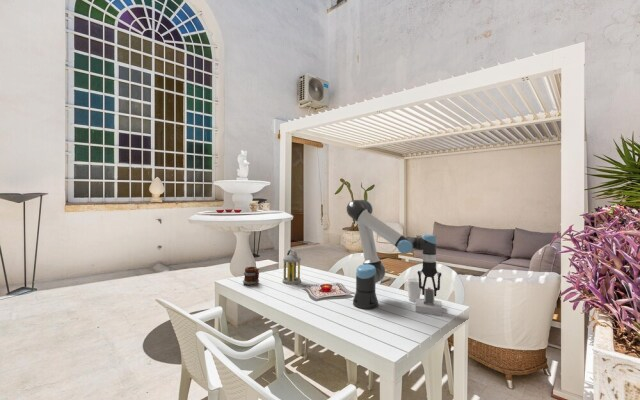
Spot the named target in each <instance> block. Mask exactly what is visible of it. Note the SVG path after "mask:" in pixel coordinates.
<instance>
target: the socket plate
mask: <svg viewBox="0 0 640 400" xmlns="http://www.w3.org/2000/svg"><path fill="white" fill-rule="evenodd" d="M414 307H415V313H423V314H428V315H436V316H442V312H443V305H442V300H435V299H434V302H433V303H426V301H424V298H421V297H420V298H417V300H416V302H415V306H414Z"/></svg>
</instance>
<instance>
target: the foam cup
mask: <svg viewBox="0 0 640 400" xmlns="http://www.w3.org/2000/svg"><path fill="white" fill-rule="evenodd" d="M421 286H423V280H422V279H421ZM406 287H407V288H406V289H407V296H408V301H410V302H412V303H416V300H417V298H420V299H421V292H422V289H421V288H419V278H415V277H413V278H412V277H408V278H406Z"/></svg>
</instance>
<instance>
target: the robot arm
mask: <svg viewBox="0 0 640 400" xmlns="http://www.w3.org/2000/svg"><path fill="white" fill-rule="evenodd" d="M346 213H347V215H348V216H349V217H350V218H351V219H353V220H354V223H355V224H357V228H358V229H357V230H358V233H359V234H358V235H359V238H360V242H361V243H360V244H361V249H362V252H363V254H362V255H363V258H364V260H363V262H362V264H360V265H358V266H356V271H355V280H356V281H355V283H356V284H355V293H354V297H353V299H352V305H353V306H354V308H355V307H356V308H358V309H362V310H363V309H364V310H372V309H377V308H378V307H379V300H378V296H377V294H376V293H377V292H376V284H377V283H378V282H380V281H382V280H383V279H384V277H385V275H386V268H385V265H383V264H382V261H381V258H379V257H378V252H377V247H376V243H375V239H374V233H376V234H377V235H378V236H380V237H382V238H383V239H384V240H386V241H387V242H388V243H390V244H391V245H392V246H394V247H395V248H397V250H398V252H399V253H401V254H403V255H406V254H409V253H411V252H413V251H421V252H422V268H421V270H417V275H418V279H419V288H421V292H422V296H423V299H424V301H426V289H427V288H425V287H426V284H427V278H431V281H432V285H433V287H432V288H433V302H434V300H435V297H437V291H440V290H441V277H442V272H440V271H438V270H437V236H436V235H435V234H423V235H422V237H417V236H416V237H415V236H412V237H411V236H404V235H402V234H401V233H400V232H398V231H396V230H395V229H394V228H392V227H391V226H389V225H387V224H386V223H385V222H384V221H382V220H381V219H379V218H378V217H376V216H375V215H374V214H372V213H373V206H372V204H371V203H370V202H369V201H368V200H365V199H352V200H351V201H349V202H348V203H347V205H346ZM422 274H423V275H424V279H423V282H422V286H421V280H422ZM435 276H437V285H436V281H435Z"/></svg>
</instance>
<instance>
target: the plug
mask: <svg viewBox="0 0 640 400" xmlns="http://www.w3.org/2000/svg"><path fill="white" fill-rule="evenodd" d="M425 289H426V303H433V290H434V288H431V287H427V288H425Z"/></svg>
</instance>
